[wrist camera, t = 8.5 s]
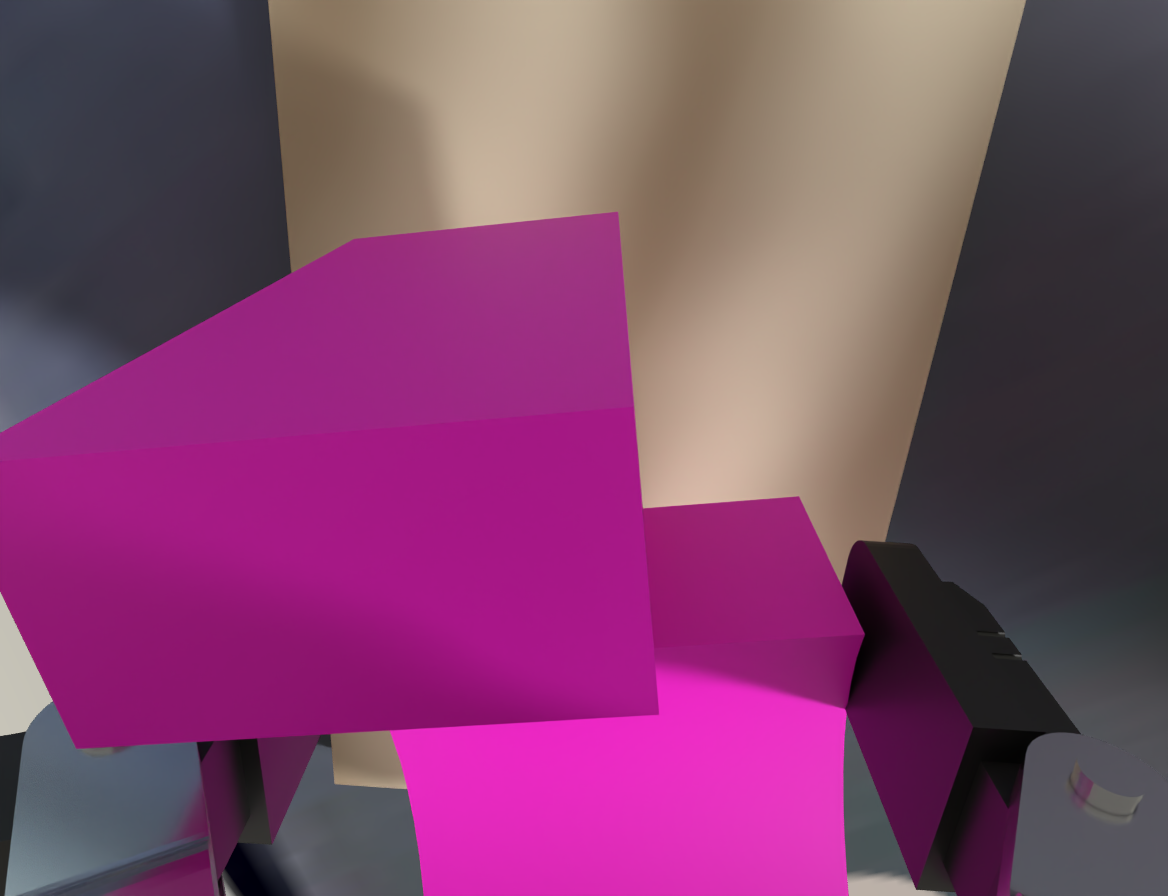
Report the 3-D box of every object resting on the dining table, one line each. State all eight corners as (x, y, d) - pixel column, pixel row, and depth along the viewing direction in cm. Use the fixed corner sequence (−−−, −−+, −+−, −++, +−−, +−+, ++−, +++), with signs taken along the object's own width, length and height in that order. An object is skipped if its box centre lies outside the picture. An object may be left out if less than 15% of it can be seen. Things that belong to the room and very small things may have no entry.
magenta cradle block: (795, 925, 17) (924, 1500, 10) (505, 936, 17) (436, 1494, 10) (801, 192, 11) (1147, 361, 4) (353, 238, 11) (-62, 466, 4)
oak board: (1034, -144, 12) (1068, -163, 11) (803, 786, 21) (812, 818, 20) (275, -201, 12) (249, -225, 11) (346, 753, 20) (334, 783, 20)
